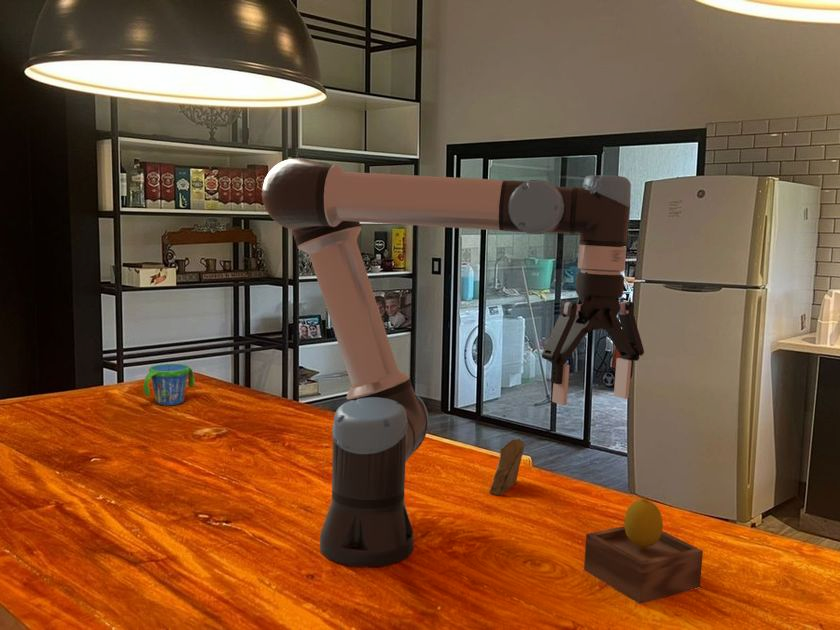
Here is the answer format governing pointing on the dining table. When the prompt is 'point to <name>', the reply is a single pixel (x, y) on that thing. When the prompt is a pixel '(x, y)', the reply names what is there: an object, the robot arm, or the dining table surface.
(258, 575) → the dining table surface
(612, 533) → the walnut block
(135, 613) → the dining table surface
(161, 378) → the snack cup
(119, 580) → the dining table surface
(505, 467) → the rock
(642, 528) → the lemon
